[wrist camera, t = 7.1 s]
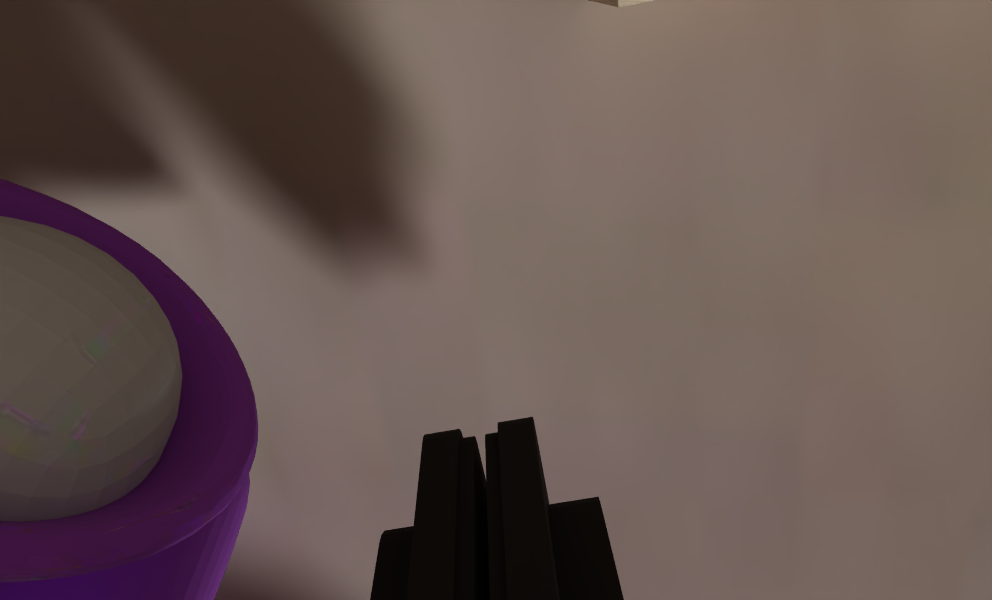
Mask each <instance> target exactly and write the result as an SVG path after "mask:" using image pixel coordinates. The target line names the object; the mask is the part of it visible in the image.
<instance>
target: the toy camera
mask: <svg viewBox="0 0 992 600" xmlns="http://www.w3.org/2000/svg"><path fill="white" fill-rule="evenodd" d="M257 441H258V420H257V410H256V403H255V397H254V393H253V390H252V386H251V383H250V379H249V377H248V374H247V372H246V369H245V366H244V364H243V362H242V360H241V358H240V356H239V354H238V351H237V349H236V348H235V346H234V344H233V343H232V341H231V339H230V337H229V336H228V334H227V333H226V331H225V330H224V328H223V327H222V326H221V324H220V323H219V321H218V320H217V319H216V317H215V316H214V315H213V314H212V312H211V311H210V310H209V308H208V307H207V306H206V305H205V303H204V302H203V301H202V300H201V299H200V298H199V296H198V295H197V294H196V293H195V292H194V291H193V290H192V289H191V288H190V287H189V286H188V285H187V284H186V283H185V282H184V281H183V280H182V279H181V278H180V277H178V276H177V275H176V274H175V273H174V272H173V271H172V270H171V269H170V268H169V267H168V266H166V265H165V264H164V263H163V262H162V261H161V260H160V259H159V258H157V257H156V256H155V255H153V254H152V253H150V252H149V251H148V250H146V249H145V248H144V247H142V246H141V245H140V244H138V243H137V242H135V241H134V240H132V239H130V238H129V237H127V236H126V235H124V234H123V233H121V232H119V231H118V230H116V229H115V228H113V227H111V226H109V225H107V224H106V223H104V222H102V221H100V220H98V219H96V218H94V217H92V216H90V215H88V214H86V213H85V212H83V211H81V210H79V209H77V208H75V207H73V206H71V205H68V204H66V203H64V202H61V201H59V200H56V199H54V198H52V197H49V196H47V195H44V194H42V193H39V192H36V191H33V190H31V189H28V188H25V187H23V186H20V185H17V184H15V183H12V182H9V181H6V180H2V179H0V600H214V598H215V596H216V593H217V590H218V588H219V585H220V583H221V580H222V577H223V575H224V572H225V569H226V567H227V564H228V562H229V559H230V556H231V554H232V551H233V548H234V545H235V542H236V539H237V536H238V533H239V530H240V527H241V524H242V521H243V517H244V514H245V511H246V507H247V501H248V494H249V485H250V479H249V472H250V469H251V466H252V463H253V460H254V457H255V453H256V447H257Z"/></svg>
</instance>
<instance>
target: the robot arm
mask: <svg viewBox="0 0 992 600" xmlns="http://www.w3.org/2000/svg"><path fill="white" fill-rule="evenodd" d="M485 448H486V479H485V474H484V470H483V466H482V462H481V457H480V453H479V449H478V444H477V441H476V438H475V436H473V437H467V438H463V436H462V433H461V430H460V429H456V430H450V431H444V432H438V433H432V434H426V435H424V437H423V443H422V452H421V462H420V471H419V481H418V490H417V500H416V510H415V519H414V526H411V527H405V528H398V529H392V530H386V531H384V532H383V534H382V535H381V539H380V543H379V549H378V555H377V561H376V567H375V573H374V580H373V586H372V592H371V598H370V600H624V599H623V595H622V591H621V586H620V582H619V578H618V574H617V570H616V566H615V561H614V557H613V553H612V549H611V545H610V541H609V537H608V532H607V528H606V524H605V520H604V516H603V512H602V507H601V504H600V500H599V497H594V498H587V499H581V500H575V501H569V502H562V503H556V504H550V505H549V500H548V494H547V489H546V484H545V478H544V473H543V467H542V462H541V457H540V451H539V446H538V441H537V435H536V430H535V425H534V420H533V417H529V418H523V419H517V420H510V421H504V422H498V432H497V433H491V434H486V435H485Z"/></svg>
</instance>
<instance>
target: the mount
mask: <svg viewBox="0 0 992 600" xmlns="http://www.w3.org/2000/svg"><path fill="white" fill-rule="evenodd" d="M589 1H594V2H598V3H602V4H607V5H611V6H615V7H623V6H628V5H633V4H638V3H643V2H649V1H654V0H589Z"/></svg>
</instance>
